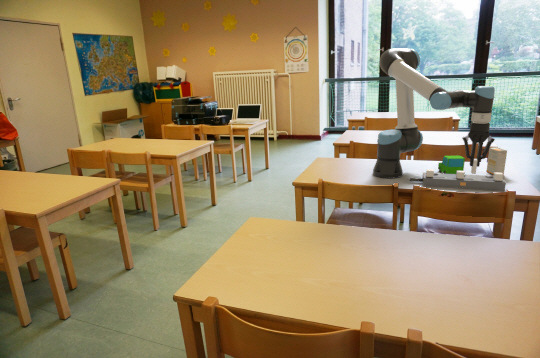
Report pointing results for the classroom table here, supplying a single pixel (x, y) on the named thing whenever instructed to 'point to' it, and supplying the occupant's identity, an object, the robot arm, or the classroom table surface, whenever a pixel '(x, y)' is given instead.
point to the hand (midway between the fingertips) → (473, 173)
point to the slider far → (498, 176)
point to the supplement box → (496, 160)
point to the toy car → (451, 164)
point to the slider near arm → (429, 173)
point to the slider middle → (460, 174)
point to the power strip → (462, 182)
